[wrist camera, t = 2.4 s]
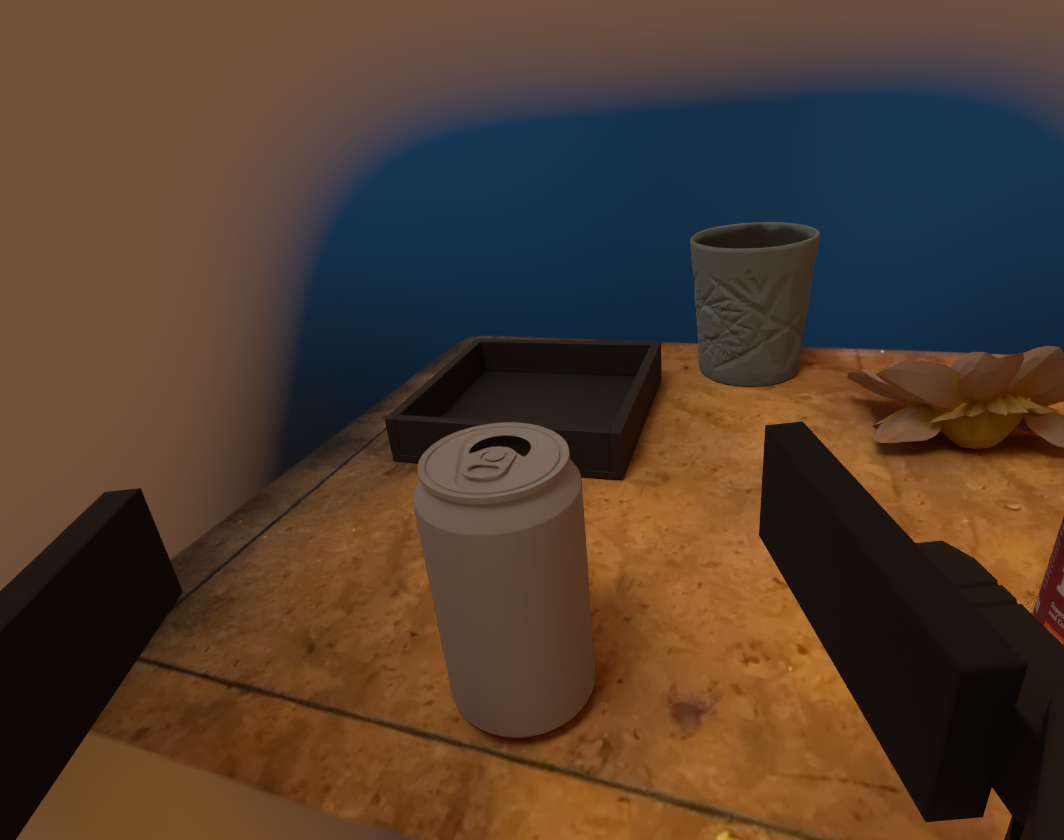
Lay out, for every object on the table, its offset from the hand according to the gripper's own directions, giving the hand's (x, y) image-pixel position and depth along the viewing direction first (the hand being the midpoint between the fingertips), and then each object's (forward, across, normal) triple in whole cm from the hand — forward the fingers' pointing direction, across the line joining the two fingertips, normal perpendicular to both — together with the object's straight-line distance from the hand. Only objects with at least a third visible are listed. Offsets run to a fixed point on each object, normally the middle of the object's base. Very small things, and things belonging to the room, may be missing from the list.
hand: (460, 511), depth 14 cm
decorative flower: (+28, +31, -16) cm, 45 cm away
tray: (+38, +2, -16) cm, 41 cm away
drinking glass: (+44, +21, -16) cm, 51 cm away
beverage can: (+10, 0, -16) cm, 19 cm away
